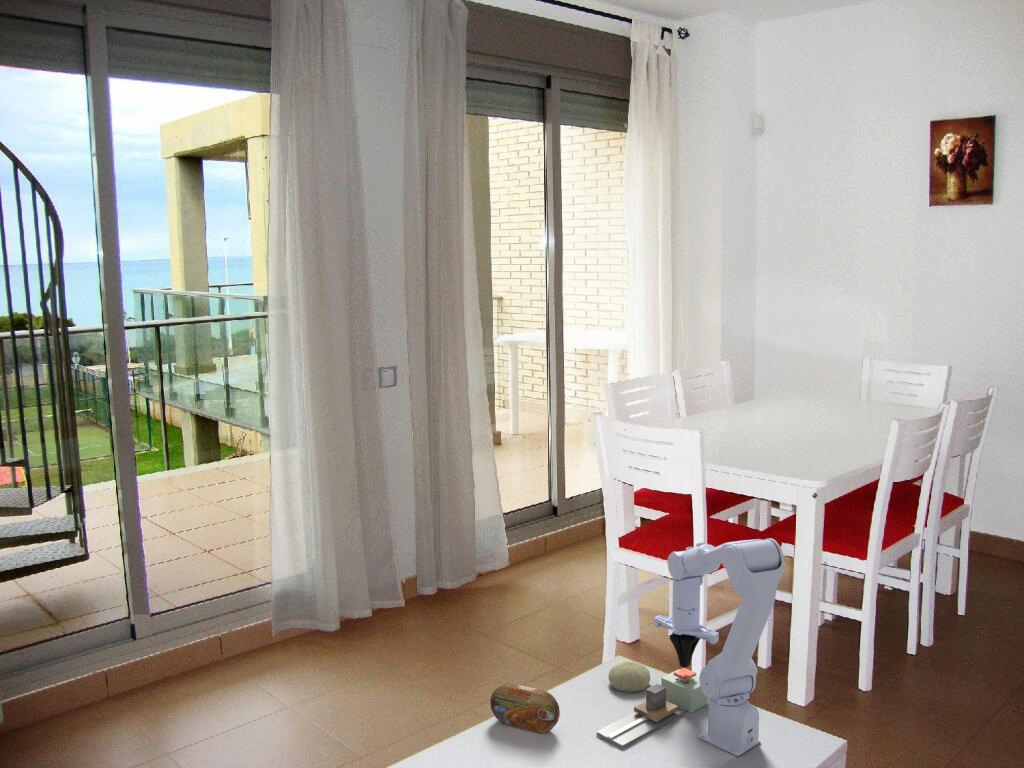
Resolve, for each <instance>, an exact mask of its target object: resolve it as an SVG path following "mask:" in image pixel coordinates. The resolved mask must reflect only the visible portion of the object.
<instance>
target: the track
mask: <svg viewBox="0 0 1024 768" xmlns="http://www.w3.org/2000/svg"><path fill="white" fill-rule="evenodd" d="M683 716H684V711H683V710H680V709H678V711H676V712H674V713H672V714H671V715H669V716H667V717H665V718H663V719H661V720H660V721H658V722H655V721H653V720H651V719H648V718H646V717H644V716H642V715H640V714H638V713H636V712H634V711H633V712H631V713H630V714H627V715H626V716H624V717H622V718H620V719H618V720H615V721H614V722H612V723H610V724H608V725H606V726H605V727H603V728H600V729H598V730H597V731H596V737H599V738H600V739H602V738H603V739H602V740H604V739H605V740H604V741H606V740H607V741H606V742H608V743H610V744H612V745H614V746H615V747H617V746H618V748H619V747H620V748H619V749H621V748H622V749H621V750H624V749H626V748H627V747H630V746H631V745H633V744H636V743H637V742H638V741H640V740H642V739H644V738H645V737H647V736H649V735H650V734H652V733H654V732H656V731H658V730H660V729H662V728H664V727H665V726H667V725H669V724H670V723H672V722H675V720H677V719H680V718H681V717H683Z"/></svg>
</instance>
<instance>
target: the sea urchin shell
mask: <svg viewBox="0 0 1024 768" xmlns="http://www.w3.org/2000/svg"><path fill="white" fill-rule="evenodd" d="M607 677H608V682H609V684H611V685H612V686H613V687H612V688H615V689H616V690H618V691H620V692H627V693H629V692H630V693H631V692H633V693H636V692H641V691H643V690H645V689H646V688H648V685H649V683H650V681H651V673H650V671H649V669H648V667H646V666H645V664H642V663H641V662H638V661H637V662H636V661H631V660H630V661H625V662H624V661H622V662H620V663H618V664H616V665H614V666H613V667H612V668H611V669H610V670H609V672H608V676H607Z"/></svg>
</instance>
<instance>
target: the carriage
mask: <svg viewBox="0 0 1024 768" xmlns="http://www.w3.org/2000/svg"><path fill="white" fill-rule="evenodd" d="M678 710H679V707H678V706H677V705H675V704H672V703H670V702H668V701H666V687H663V686H661V684H659V683H656V684H654V685H652V686H650V687H647V688H645V700H644V701H642V702H641V703H638V704H637V705H635V706H634V707H633V712H636V713H638V714H640V715H642V716H644V717H646V718H648V719H651V720H653V721H655V722H658V721H660V720H661V719H663V718H665V717H667V716H669V715H671V714H672V713H674V712H676V711H678Z"/></svg>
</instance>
